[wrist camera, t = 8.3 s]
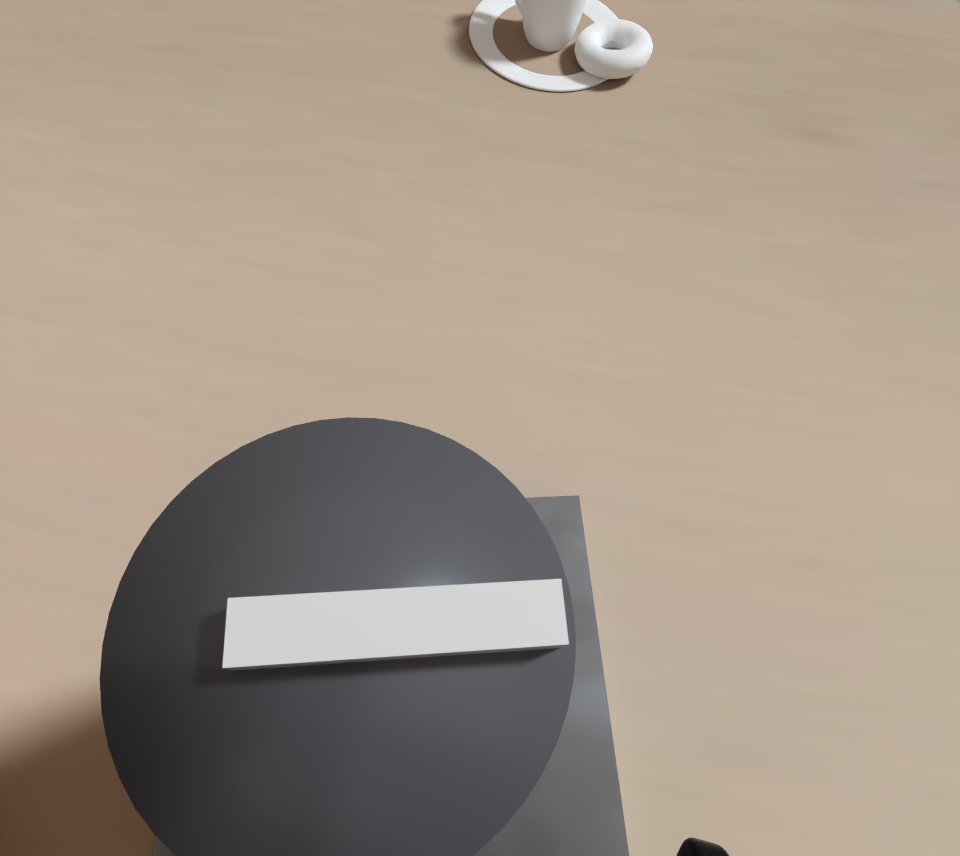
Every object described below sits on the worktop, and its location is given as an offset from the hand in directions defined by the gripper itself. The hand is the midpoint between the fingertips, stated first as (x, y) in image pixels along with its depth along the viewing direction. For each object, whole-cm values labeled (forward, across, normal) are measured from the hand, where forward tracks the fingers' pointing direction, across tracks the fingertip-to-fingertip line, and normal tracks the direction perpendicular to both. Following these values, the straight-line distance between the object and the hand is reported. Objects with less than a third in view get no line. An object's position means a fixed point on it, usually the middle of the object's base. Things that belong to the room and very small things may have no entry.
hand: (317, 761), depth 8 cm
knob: (+9, 0, +6) cm, 11 cm away
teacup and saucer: (+30, +1, -12) cm, 32 cm away
